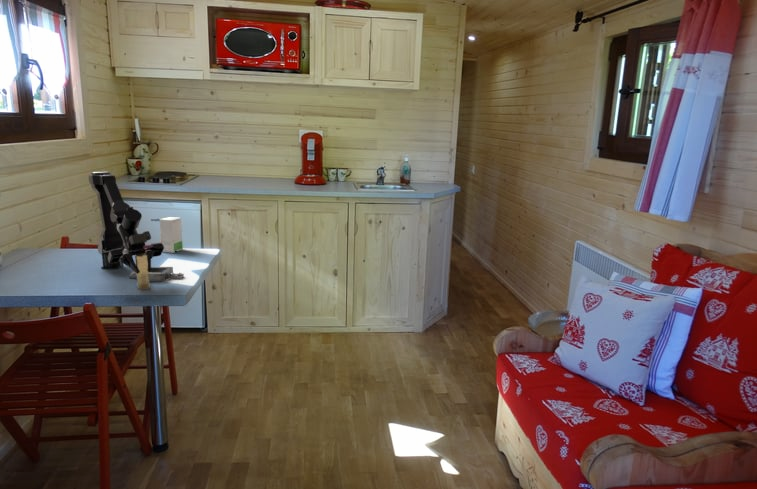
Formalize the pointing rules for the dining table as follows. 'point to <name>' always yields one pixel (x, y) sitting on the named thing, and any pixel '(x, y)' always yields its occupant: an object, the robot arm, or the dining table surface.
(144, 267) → the tan wooden block
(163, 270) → the chain joint
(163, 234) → the skincare box
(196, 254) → the dining table surface
